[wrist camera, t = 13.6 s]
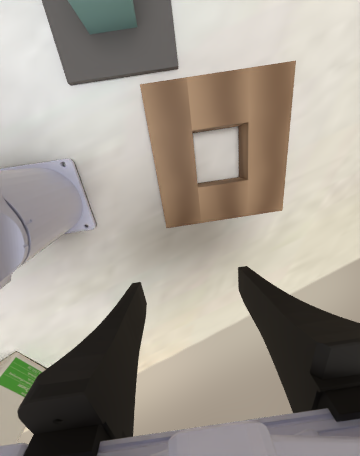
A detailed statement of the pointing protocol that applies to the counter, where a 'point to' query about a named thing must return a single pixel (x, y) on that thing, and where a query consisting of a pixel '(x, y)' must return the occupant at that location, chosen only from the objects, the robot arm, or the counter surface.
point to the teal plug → (105, 14)
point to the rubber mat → (114, 43)
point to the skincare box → (14, 394)
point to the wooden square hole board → (218, 119)
